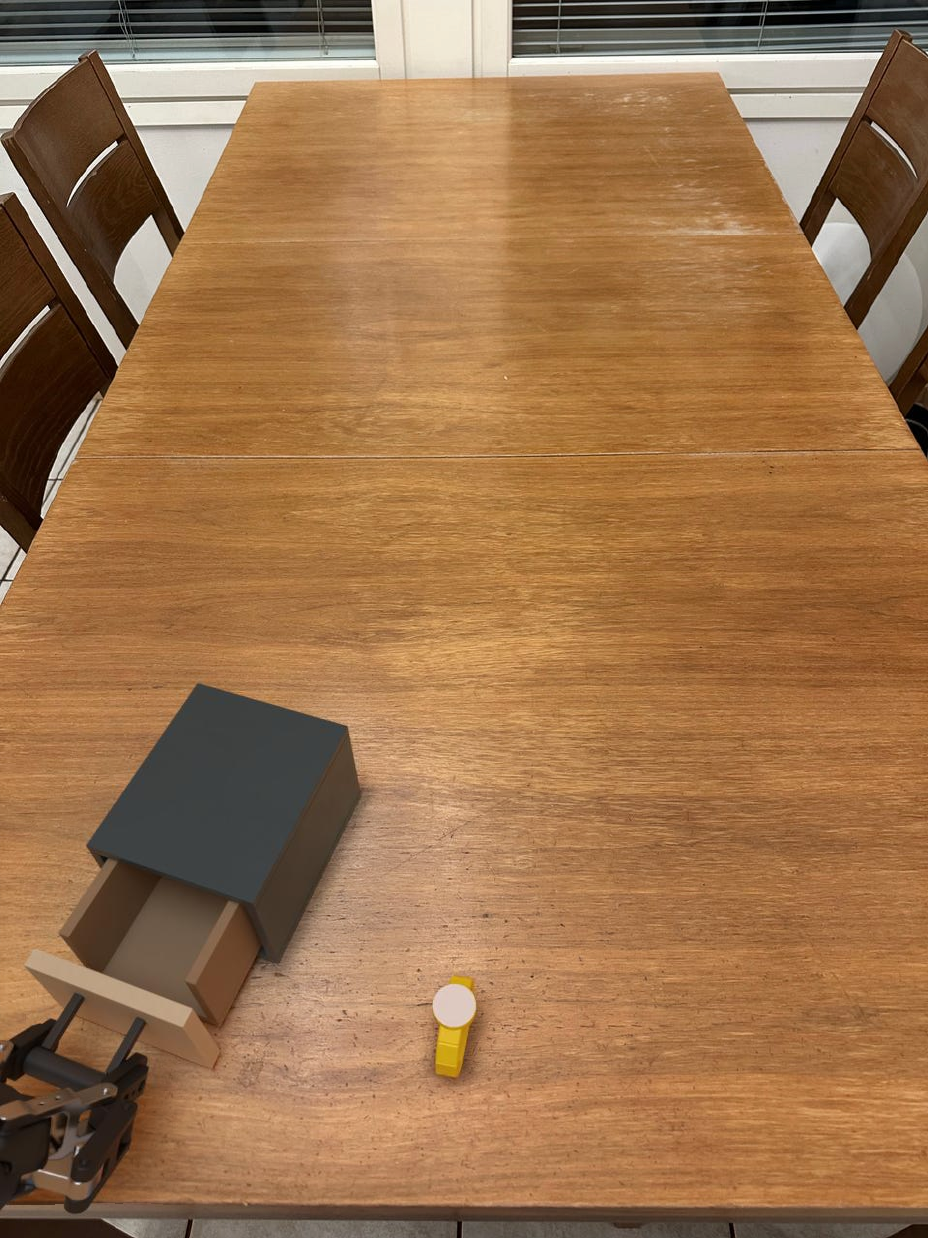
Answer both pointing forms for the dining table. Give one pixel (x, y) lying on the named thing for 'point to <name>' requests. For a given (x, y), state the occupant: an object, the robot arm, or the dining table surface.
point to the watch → (453, 1023)
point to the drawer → (143, 970)
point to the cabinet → (238, 807)
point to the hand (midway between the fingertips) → (97, 1051)
